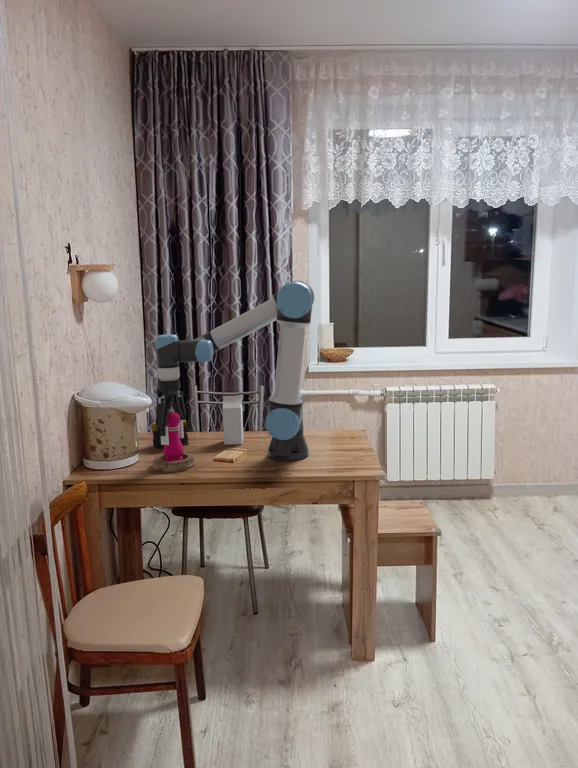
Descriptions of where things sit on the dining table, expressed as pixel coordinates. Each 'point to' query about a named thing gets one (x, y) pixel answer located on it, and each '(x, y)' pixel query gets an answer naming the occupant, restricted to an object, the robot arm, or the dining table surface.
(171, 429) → the pepper mill
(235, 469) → the dining table surface
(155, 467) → the grey brown stone ring
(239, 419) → the milk carton
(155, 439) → the black yellow cube
